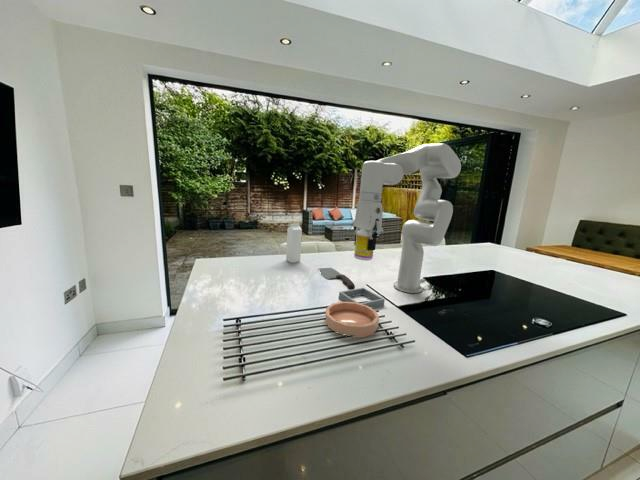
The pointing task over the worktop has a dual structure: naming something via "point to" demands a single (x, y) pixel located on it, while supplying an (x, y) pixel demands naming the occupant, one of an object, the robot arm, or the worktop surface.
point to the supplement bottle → (362, 245)
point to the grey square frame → (346, 294)
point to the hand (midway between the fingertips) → (364, 247)
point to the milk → (293, 243)
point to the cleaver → (336, 276)
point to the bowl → (352, 319)
